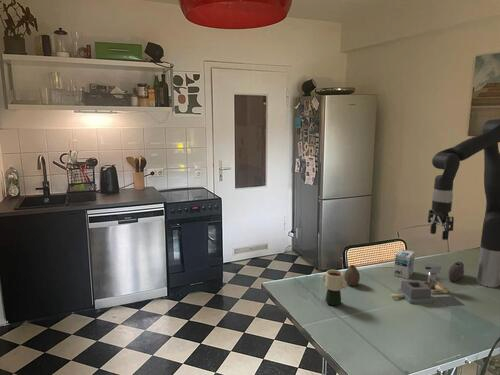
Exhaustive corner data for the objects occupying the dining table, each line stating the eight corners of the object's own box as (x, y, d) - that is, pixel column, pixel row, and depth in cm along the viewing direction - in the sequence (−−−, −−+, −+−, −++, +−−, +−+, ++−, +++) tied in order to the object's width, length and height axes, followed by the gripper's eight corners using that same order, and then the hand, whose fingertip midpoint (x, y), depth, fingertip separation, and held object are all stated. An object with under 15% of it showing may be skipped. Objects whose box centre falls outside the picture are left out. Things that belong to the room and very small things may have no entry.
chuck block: (419, 292, 162) (420, 279, 161) (432, 303, 152) (434, 289, 151) (386, 293, 160) (387, 280, 159) (397, 304, 151) (398, 290, 150)
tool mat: (452, 297, 158) (452, 296, 158) (465, 306, 150) (465, 305, 150) (434, 297, 157) (434, 296, 157) (446, 306, 149) (446, 305, 149)
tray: (436, 284, 170) (436, 281, 169) (448, 293, 161) (448, 289, 161) (417, 285, 169) (417, 281, 169) (428, 294, 160) (429, 290, 160)
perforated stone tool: (455, 285, 170) (456, 271, 169) (443, 281, 173) (444, 267, 172) (465, 276, 180) (467, 262, 179) (453, 273, 184) (455, 259, 183)
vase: (357, 281, 172) (359, 263, 171) (360, 287, 165) (362, 269, 164) (342, 280, 173) (343, 262, 171) (344, 287, 166) (346, 268, 164)
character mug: (349, 304, 150) (351, 274, 148) (340, 310, 145) (342, 279, 143) (326, 295, 157) (328, 266, 155) (316, 301, 152) (318, 271, 150)
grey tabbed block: (421, 286, 166) (423, 263, 165) (435, 285, 167) (437, 262, 165) (426, 290, 162) (428, 266, 160) (440, 290, 163) (443, 266, 161)
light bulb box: (407, 279, 175) (409, 257, 174) (393, 275, 179) (395, 254, 178) (413, 272, 184) (415, 251, 182) (399, 268, 188) (401, 248, 186)
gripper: (424, 196, 164) (421, 232, 167) (444, 203, 150) (440, 241, 153) (440, 196, 165) (437, 231, 168) (461, 203, 151) (457, 241, 154)
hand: (438, 236), depth 160 cm, fingers open, 8 cm apart
